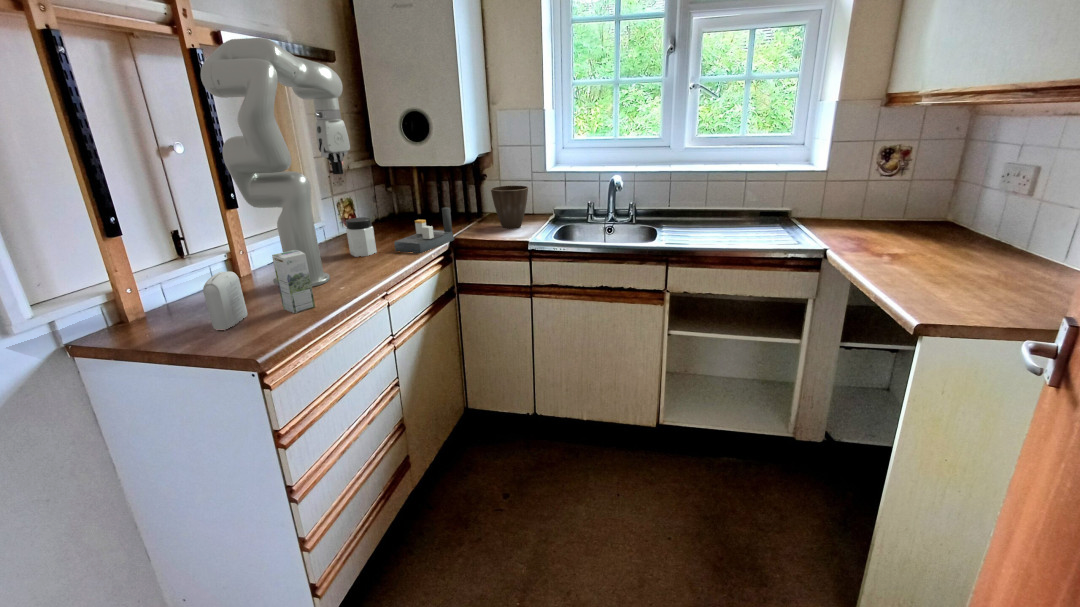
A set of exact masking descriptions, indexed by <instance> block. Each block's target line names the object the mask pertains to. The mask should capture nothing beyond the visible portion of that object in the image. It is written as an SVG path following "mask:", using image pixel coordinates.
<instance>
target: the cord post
mask: <svg viewBox="0 0 1080 607" xmlns="http://www.w3.org/2000/svg"><path fill="white" fill-rule="evenodd" d="M441 215H442V223H443V230H444V231H445V232H450V231H453V226H452V225H453V224H452V215H451V208H450V207H447V206H446V207H441ZM453 241H455V236H454V235H453Z"/></svg>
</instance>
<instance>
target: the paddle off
mask: <svg viewBox="0 0 1080 607" xmlns="http://www.w3.org/2000/svg"><path fill="white" fill-rule="evenodd" d="M421 228H422V236H423V239H431V238H434V235H433V230H434V227H433V225H431V226H430V225H426V226H424V227H421Z"/></svg>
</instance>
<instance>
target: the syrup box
mask: <svg viewBox="0 0 1080 607" xmlns="http://www.w3.org/2000/svg"><path fill="white" fill-rule="evenodd" d="M272 261H273V266H274V272H275V276H276V277H275V278H277V281H278V285H277V286H278V290H279V294H280V299H281V300H280V301H281V304H282V307H283V310H285V311H287V312H289V313H293V314H297V313H301V312H304V311H306V310H310V309H313V308H315V307H316V303H315V298H314V292H313V287H312V286H311V281H310V276H309V270H308V265H307V260H306V255H305V254H304V253H303V252H301V251H298V250H292V251H287V252H283V251H282V252H280V253H275V254H272Z"/></svg>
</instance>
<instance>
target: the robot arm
mask: <svg viewBox="0 0 1080 607" xmlns="http://www.w3.org/2000/svg"><path fill="white" fill-rule="evenodd" d="M200 79H201V82H202V85H203V87H204V88H205V90H206V91H207V92H208V93H210V94H211V95H213V96H215V97H217V98H226V99H227V98H243V100H242V103H241V105H240V107H239V110H238V113H237V124H238V127H239V129H240V132H241V134H242V135H238V136H237V135H236V136H232V137H230V138H227V139H226V140H225V142H224V143H223V146H222V158H223V161H224V164H225V166H226V169H227V171H228V172H229V174H230V176H231V177H232V180H233V182H234V183H235V185H236V187H237V188H238V191H239V193H240V194H241V196H242V198H243V199H244V201H245V202H246V204H248V205H249V206H251V207H253V208H258V209H261V208H263V209H265V208H268V209H270V208H272V209H273V208H277V209H278V208H280V209H281V212H280V214H279V216H278V218H277V222H276V225H277V226H276V227H277V232H278V237H279V241H280V245H281V251H282V253H283V252H287V251H292V250H298V251H301V252H303V253H304V254H305V255H306V260H307V265H308V270H309V276H310V281H311V286H312V288H313V287H316V286H320V285H323V284H325V283H327V282H329V281H330V279H331V275H330V273H327V272H324V269H323V263H322V258H321V253H320V248H319V242H318V238H317V237H318V236H317V231H316V227H315V222H314V217H313V208H312V207H313V206H312V186H311V182H310V180H309V178H308V177H307V176H306V175H304V174H303V173H301V172H298V171H289V169H290V167H291V166H292V156H291V152H290V150H289V148H288V145H287V143H286V140H285V139H284V136H283V134H282V132H281V130H280V127H279V125H278V122H277V120H276V116H275V103H276V95H277V90H278V83H279V84H280V85H282V86H284V87H289V88H291V89H292V91H293V93H294V94H295V96H297V97H298V98H300V99H302V100H306V101H307V100H312V101H313V106H314V114H313V115H314V117H315V118H316V121H315V133H316V134H315V136H316V144H317V148H318V151H319V153H320V156H321V157H322V158H326V159H327V160H328V162H329V163H330V164H331V171H332V174H333V175H342V174H344V168H343V164H342V163H343V161H344V157H345V156H347V155H348V154H349V151H350V150H351V143H350V139H349V135H348V130H347V128H346V123H345V121H344V120H342V114H341V110H340V104H339V103H340V102H339V98H340V96H342V95H343V94H342V93H343V89H344V87H343V82H342V80H341V78H340V76H339V75H338V73H337V72H336V71H335V70H333V69H332V68H331V67H329V66H327V65H325V64H323V63H322V62H321V63H320V62H316V61H312V60H309V59H306V58H303V57H298V56H296V55H294V54H292V53H291V52H290V51H288V50H287V49H285V48H284V47H282V46H281V45H279V44H278V43H276V42H275V41H274V40H271V39H269V38H265V37H250V38H248V37H246V38H232V39H229V40H226V41H225V42H223V43H221V45H219V46H218V47H217V48H216V49H215V50H214V51H213V52H212V53H211V54H210V55H209V56H208V57H207V58H206V59H205V61H204V62H203V63H202V66H201V69H200ZM287 170H288V171H287ZM272 282H273V284H274V285H276V286H278V281H277V277H275V278H273V281H272Z"/></svg>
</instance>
